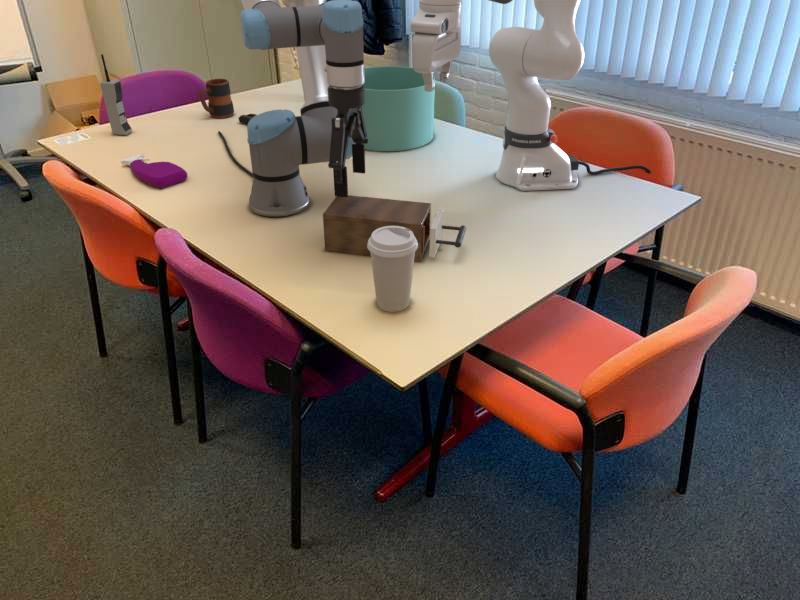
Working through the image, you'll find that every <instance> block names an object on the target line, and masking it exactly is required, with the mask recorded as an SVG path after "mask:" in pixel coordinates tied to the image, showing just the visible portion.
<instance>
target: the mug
mask: <svg viewBox="0 0 800 600" xmlns="http://www.w3.org/2000/svg"><path fill="white" fill-rule="evenodd" d="M205 94H206V95H207V101H208V102H206V99H205ZM231 94H232V91H231V86H230V81H229V80H228V79H226V78H213V79H209V80H207V81H206V83H205V88H203V89H201V90H200V92H199V100H200V103H201V105H202V108H203V110H205V112H206V113H209V115H210V117H212V118H215V119H226V118H229V117H232V116H233V115H234V113H235V108H234V102H233V100H232V96H231Z"/></svg>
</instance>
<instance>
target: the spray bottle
mask: <svg viewBox="0 0 800 600" xmlns="http://www.w3.org/2000/svg"><path fill="white" fill-rule="evenodd" d="M145 161H149V163H147V162H145ZM120 163H121V166H129V167H130V169H131V172H132V173H133V175H134V176H135V177H136V178H137V179H139V180H141V181H142V182H143V183H145V184H148V185H150V186H153V187H156V188H160V189H163V188H166V187H169V186H173V185H176V184H178V183H182V182H184V181H186V180H187V178H188V172H187V171H186V170H185V169H184V168H183V167H181V166H180V165H177V164H175V163H174V162H170V161H154V162H150V158H146V157H145V154H144V153H142V154H136V155H133V156H129V157H127V158H124V159H121V160H120Z"/></svg>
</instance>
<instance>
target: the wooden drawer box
mask: <svg viewBox="0 0 800 600" xmlns="http://www.w3.org/2000/svg"><path fill="white" fill-rule="evenodd" d="M429 211H430V212H432V203H431V202H421V201H414V200H413V201H412V200H400V199H390V198H381V197H371V196H370V197H369V196H360V195H350V194H348V197H338V196H335V198H334V199H333V200H332V201H331V202H330V204H329V206H328V207H327V208H326V210H325V211H324V212H323V213H322V223H323V225H322V226H323V237H324V238H323V239H324V251H325V252H333V253H342V254H351V255H358V256H368V257H371V254H370V251H369V250H368V248H367V243H368V240H369V238H370V237H371V234H372V233H373V231H375V230H376V229H378V228H381V227H385V226H401V227H405V228H407V229H409V230H411V231H412V232H413V234H414V236H415V238H416V240H417V242H418V248H417V250H416V251H415V257H414V262H422V260H423V257H424V254H425V253H426V250H427V247H428V246H429V245H428V244H429V243H430V237H429V240H428V242H427V245H426V247H425V250H424V252H423V253H422V226H423V224H424V221H425V219H426V217H427V215H428V212H429Z"/></svg>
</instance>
